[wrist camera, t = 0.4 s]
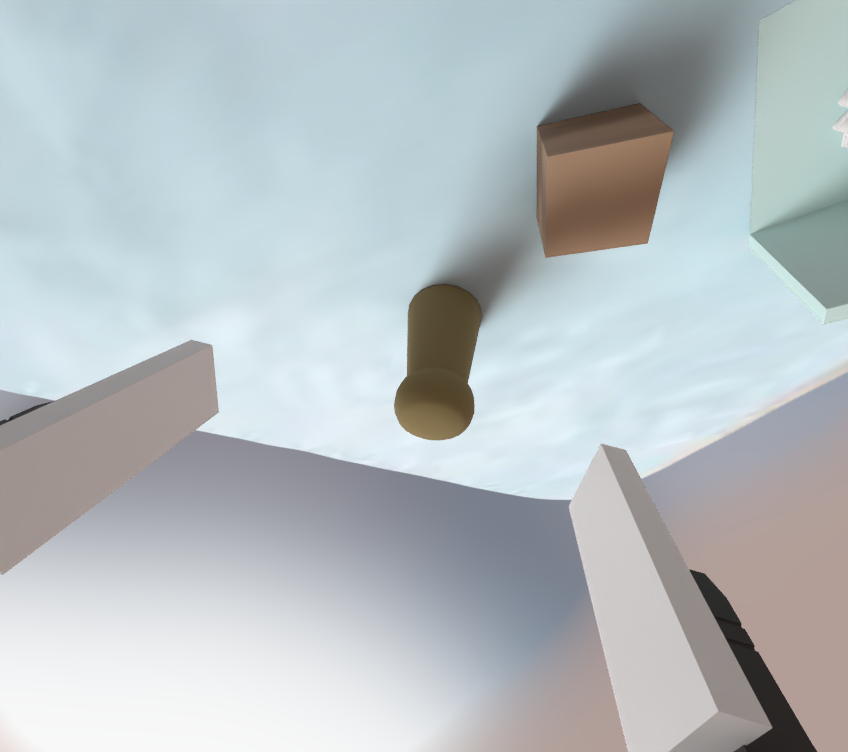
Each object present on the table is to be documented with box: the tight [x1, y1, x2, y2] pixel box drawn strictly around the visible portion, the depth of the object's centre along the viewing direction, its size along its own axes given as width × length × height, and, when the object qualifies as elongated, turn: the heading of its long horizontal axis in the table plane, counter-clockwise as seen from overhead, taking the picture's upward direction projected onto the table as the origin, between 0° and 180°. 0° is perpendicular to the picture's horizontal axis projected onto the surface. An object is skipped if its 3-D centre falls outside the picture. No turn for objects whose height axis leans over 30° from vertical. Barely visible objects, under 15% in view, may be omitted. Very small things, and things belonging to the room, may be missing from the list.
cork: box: [394, 284, 481, 440], centre depth 26 cm, size 6×6×11 cm
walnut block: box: [537, 103, 674, 258], centre depth 19 cm, size 5×5×5 cm
